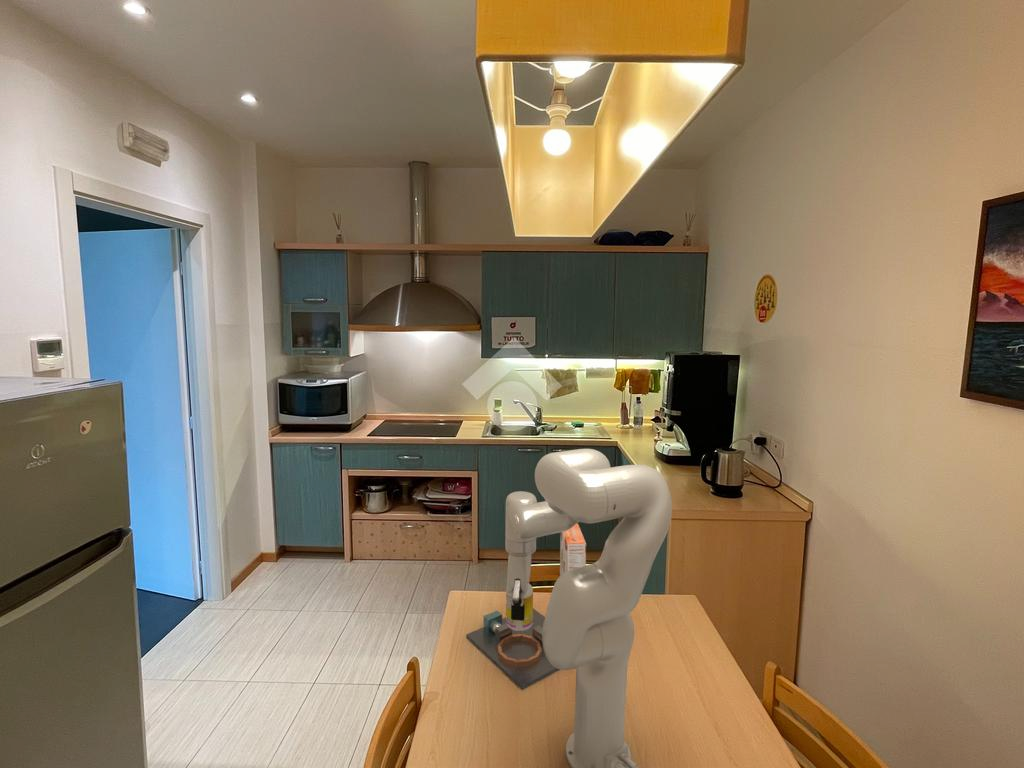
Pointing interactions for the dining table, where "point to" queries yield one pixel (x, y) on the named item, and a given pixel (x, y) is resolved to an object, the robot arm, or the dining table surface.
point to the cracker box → (572, 549)
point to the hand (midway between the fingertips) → (519, 610)
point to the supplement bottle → (528, 617)
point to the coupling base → (514, 649)
